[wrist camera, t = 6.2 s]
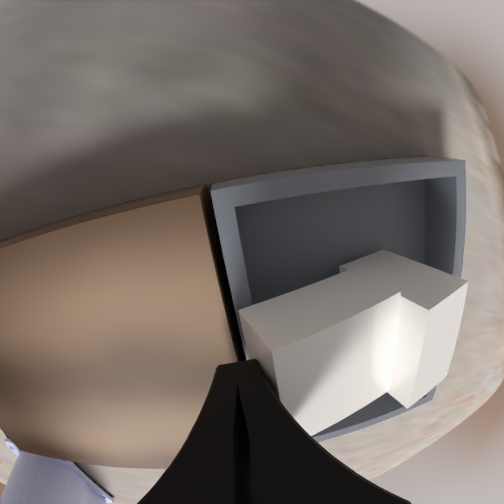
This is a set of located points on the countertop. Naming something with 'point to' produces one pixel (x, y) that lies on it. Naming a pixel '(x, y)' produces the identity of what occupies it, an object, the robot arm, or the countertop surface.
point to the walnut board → (113, 331)
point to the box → (339, 233)
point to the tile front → (326, 346)
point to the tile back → (418, 320)
